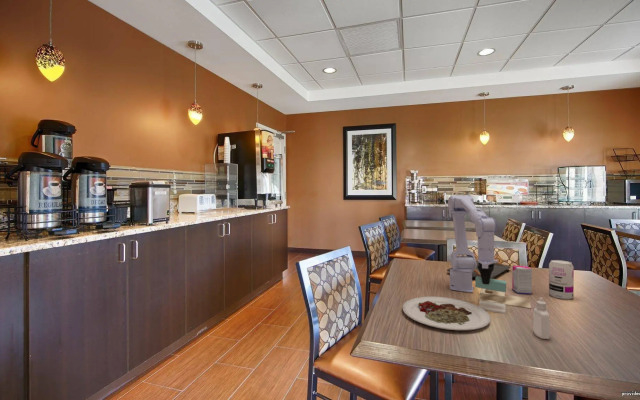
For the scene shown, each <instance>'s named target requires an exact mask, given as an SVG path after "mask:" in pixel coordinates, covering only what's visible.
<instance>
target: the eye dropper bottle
mask: <svg viewBox="0 0 640 400" xmlns="http://www.w3.org/2000/svg"><path fill="white" fill-rule="evenodd" d="M532 319H533V321H532V323H533V325H532V327H533V328H532V329H533V331H532V332H533V333H534V335H535V336H536V337H538V338H540V339H542V340H550V337H551V335H550V332H551V331H550V327H551V325H550V324H551V323H550V321H551V320H550V314H549V312H548V310H547V302H545V301H544V298H543V297H539V299H538V300H537V301H536V307H534V309H533V318H532Z"/></svg>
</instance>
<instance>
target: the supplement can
mask: <svg viewBox="0 0 640 400" xmlns="http://www.w3.org/2000/svg"><path fill="white" fill-rule="evenodd" d="M574 271H575V269H574V265H573V264H572V262H571V261H567V260H559V259H553V260H552V259H551V260H550V262H549V264H548V294H549V295H550V296H551V297H553V298H555V299H559V300H567V301H568V300H572V299H573V298H574V295H575V293H574V286H575V285H574V283H575V282H574V281H575V279H574V275H575V274H574V273H575V272H574Z"/></svg>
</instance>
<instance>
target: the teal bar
mask: <svg viewBox="0 0 640 400" xmlns="http://www.w3.org/2000/svg"><path fill="white" fill-rule="evenodd" d="M474 281H475V284H474V285H475V286H474V287H475V288H477V289H478V288H479V289H481V288H483V289H489V290H494V291H500V292H505V294H506V293H507V280H501V279H495V278H491V279H490V282H489V285H488V284H483V283H482V279H481V277H478V276H476V277H475V280H474Z"/></svg>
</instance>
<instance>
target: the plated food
mask: <svg viewBox="0 0 640 400" xmlns="http://www.w3.org/2000/svg"><path fill="white" fill-rule="evenodd" d="M478 306H479V305H476V304H473V303H471V302H468V301H465V300H460V299H456V298H452V297H451V298H450V297H444V296H422V297H421V296H420V297H414V298H410V299H408V300H406V301H405V302H403V304H402V310H403V312H404V314H405V315H406V316H407V317H408V318H410V319H412V320H414V321H415V322H418V323H419V324H420V323H421V324H423V325H426V326H429V327H433V328H437V329H443V330H448V331H449V330H452V331H453V330H454V331H472V330H478V329H482V328H484V327H486V326H488V325H489V324H490V323H491V315H490V314H489V313H488V312H487V311H486V310H483V309H482V308H480V307H478Z"/></svg>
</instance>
